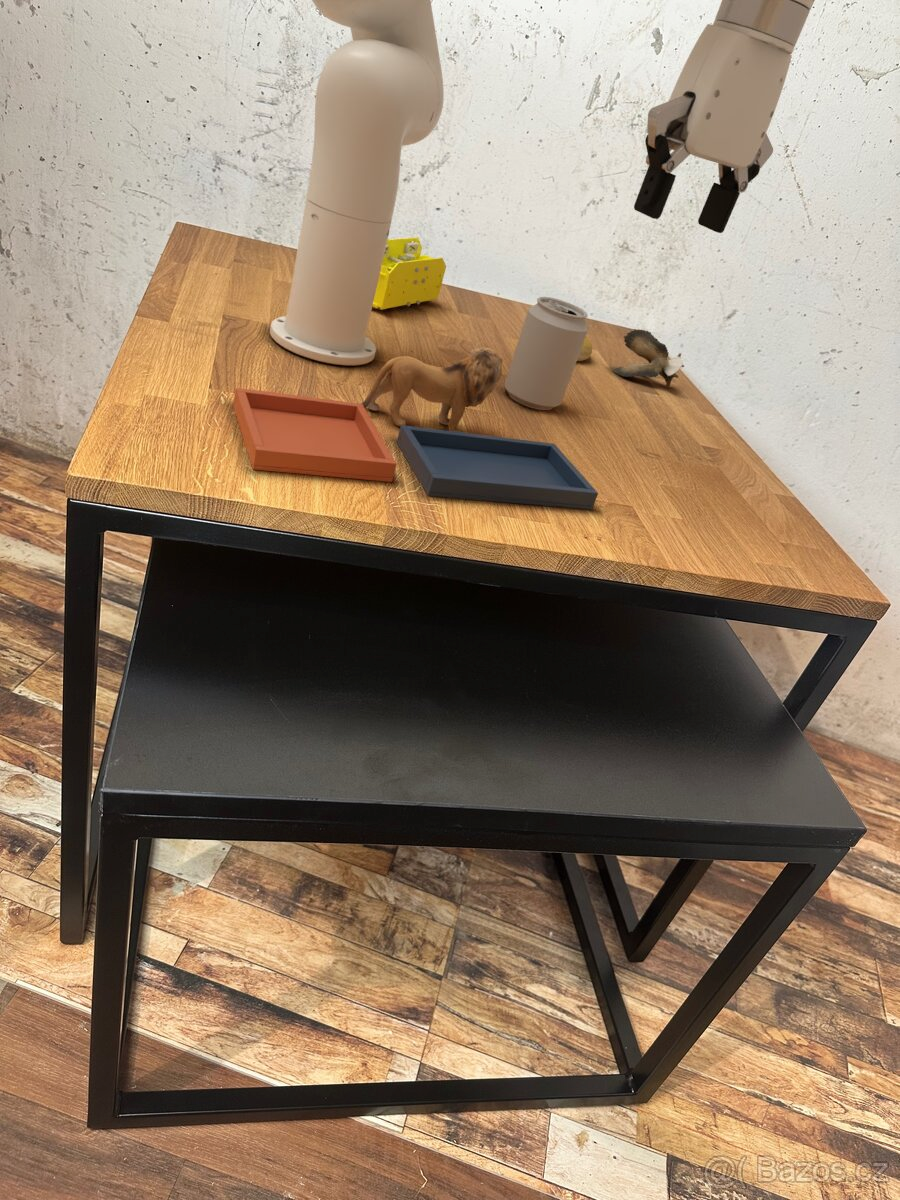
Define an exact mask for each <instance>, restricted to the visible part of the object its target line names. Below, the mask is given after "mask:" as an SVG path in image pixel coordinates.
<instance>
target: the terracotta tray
mask: <svg viewBox="0 0 900 1200" xmlns="http://www.w3.org/2000/svg"><path fill="white" fill-rule="evenodd" d="M232 407H233V410H234V415H235V417H236V421H237V423H238V426H239V429H240V432H241V436H242V439H243V442H244V445H245V448H246V449H245V450H246V452H247V455H248V459H249V462H250V464H251V467H252V470H255V471H267V472H277V473H289V474H300V475H310V476H321V477H332V478H343V479H355V480H364V481H375V482H387V483H392V482H393V480H394V476H395V471H396V468H397V462H396V459H395V458H394V457H393V455H392V453H391V452H390V450H389V448H388V446H387V444H386V443H385V441H384V440H383V437H382V435H381V434H380V432H379V430H378V429H377V426H375V423H374V421H373V420H372V418H371V416H370V414H369V412H368V411H367V409H366V408H364V406H363V404H361V403H358V402H350V401H342V400H335V399H328V398H327V399H326V398H318V397H311V396H303V395H295V394H290V393H289V394H288V393H281V392H274V391H265V390H256V389H249V388H242V387H235V389H234V397H233V403H232Z"/></svg>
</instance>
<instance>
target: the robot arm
mask: <svg viewBox="0 0 900 1200" xmlns="http://www.w3.org/2000/svg"><path fill="white" fill-rule="evenodd" d="M311 1H312V3H313V4H314V6H315V7H316V9H317V10H318V11H319V13H321V15H323V16H324V17H325V18H326V19H328V20H330V21H331V22H334V23H336V24H339V25H341V26H344V27H348V28H349V29H350V32H351V38H352V40H351V41H348V42H346V43H343V45H341V46H339V47H337V49H335V50H334V51H333V52H332V54H331V55H330V56H329V58H327V60H326V62H325V63H324V65H323V67H322V69H321V72H320V75H319V77H318V80H317V85H316V90H315V100H314V101H315V102H314V106H315V107H314V133H313V135H314V136H313V148H312V157H311V164H310V170H309V171H310V172H309V178H308V185H307V189H306V195H305V203H304V208H303V209H304V210H303V215H302V221H301V227H300V232H299V238H298V243H297V250H296V256H295V261H294V268H293V272H292V273H293V274H292V279H291V284H290V291H289V295H288V301H287V308H286V314H285V315H283V316H279V317H277V318H275V319H273V320H272V321H271V323H270V328H269V335H270V336H271V338H272V339H273V340H274V341H275V343H277V344H278V345H280V346H281V347H283V348H284V349H285V350H288V351H290V352H291V353H294V354H296V355H299V356H302V357H304V358H307V359H310V360H314V361H317V362H321V363H325V364H331V365H338V366H362V365H366V364H368V363H370V362H372V361H373V360H374V359H375V357H376V351H377V347H376V345H375V343H374V342H373V341H372V340H371V339H370V338H369V337H368V336H367V331H368V327H369V323H370V319H371V314H372V311H373V310H372V309H373V308H372V306H373V301H374V297H375V292H376V288H377V284H378V279H379V275H380V270H381V266H382V261H383V257H384V253H385V248H386V244H387V239H389V234H390V230H391V225H392V220H393V216H394V211H395V206H396V202H397V197H398V189H399V183H400V182H399V181H400V173H401V172H400V171H401V156H402V155H401V154H402V147H404V146H410V145H414V144H417V143H420V142H421V141H423V140H424V139H427V137H428V136H429V135H430V134H432V132H433V131H434V129H435V128H436V127H437V124H438V123H439V120H440V118H441V115H442V112H443V108H444V100H445V99H444V96H445V94H444V92H445V91H444V89H445V88H444V78H443V72H442V71H443V70H442V65H441V58H440V52H439V45H438V39H437V31H436V27H435V19H434V14H433V7H432V2H431V1H432V0H311ZM815 1H816V0H721V1H720V5H719V7H718V10H717V13H716V15H715V18H714V21H713V23H712V24H711V23H706V26H705V27H704V29H703V30H702V32H701V34H700V35H699V37H698V39H697V41H696V42H695V44H694V46H693V47H692V48H691V49H692V50H691V51H690V54H689V55H688V57H687V59H686V61H685V63H684V66H683V67H682V69H681V72H680V74H679V76H678V78H677V80H676V83H675V84H674V87H673V90H672V92H671V95H670V96H669V99H668V101H666V102H663V103H661V104H658V105H655V106H653V107H652V108H649V111H648V113H647V129H646V134H647V135H646V137H645V140H644V141H645V142H644V143H645V148H646V152H647V155H646V156H645V163H646V165H648V167H647V170H646V173H645V175H644V178H643V180H642V183H641V185H640V188H639V190H638V194H637V196H636V200H635V202H634V205H633V210H634V211H636V212H638V213H640V214H642V215H644V216H647V217H648V218H651V219H655V220H658V219H660V218H661V216H662V214H663V212H664V209H665V206H666V204H667V201H668V199H669V196H670V195H671V194H670V193H671V191H672V188H673V185H674V183H675V181H676V177H677V175H676V174H674V173H672V172H673V171H674V170H676V169H677V168H678V167H679V166H680V165H681V164H682V163H683V162H684V161H685V160H686V159H687V158H688V157H689V156H690V155H692V156H694V157H696V158H700V159H702V160H705V161H710V162H713V163H716V164H717V167H718V182H719V183H716V182H713V184H712V186H711V188H710V190H709V193H708V195H707V197H706V200H705V202H704V204H703V207H702V210H701V211H700V214H699V217H698V219H697V223H698V224H699V226H702V227H704V228H705V229H709V230H711V231H712V232H715V233H718V234H722V233H724V231H725V229H726V227H727V225H728V222H729V220H730V218H731V215H732V213H733V211H734V208H735V206H736V204H737V201H738V200H739V197H740V195H741V194H742V193H744V192H745V191H747V188H748V186H749V183H750V182H751V181H753V180H755V178H756V177H757V176H758V175H759V173H760V171H761V169H762V168H763V166H764V165H765V164H766V163H767V161H769V159H770V158H771V156H772V155H773V152H774V146H773V145H772V143H771V141H770V139H769V136H768V134H767V132H768V130H769V127H770V125H771V122H772V120H773V116H774V114H775V111H776V108H777V107H778V103H779V100H780V97H781V95H782V92H783V88H784V85H785V82H786V78H787V75H788V72H789V68H790V64H791V61H792V57H793V55H792V54H793V52H794V49H795V48H796V45H797V43H798V40H799V38H800V36H801V33H802V31H803V29H804V26H805V23H806V22H807V19H808V17H809V15H810V11H811V10H812V8H813V5H814V4H815V3H814V2H815ZM671 151H672V152H671Z"/></svg>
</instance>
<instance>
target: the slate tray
mask: <svg viewBox="0 0 900 1200" xmlns="http://www.w3.org/2000/svg"><path fill="white" fill-rule="evenodd" d="M396 444H397V446H398V448H399V449H400V451H401V452H402V454H403V456H404V458H405V459H406V461H407V462H408V465H409V466H410V468H411V469H412V471H413V473H414V474H415V476H416V478H417V479H418V481H419V482H420V484H421V486H422V488H423V489H424V491H425V492H426V495H427V496H428V497H438V498H449V499H450V498H451V499H461V500H463V499H464V500H473V501H486V502H497V503H508V504H519V505H520V504H521V505H532V506H542V507H543V506H544V507H554V508H566V509H579V510H589V511H592V510H593V507H594V505H595V502H596V500H597V499H598V498H597V497H598V495H599V492H598V491H597V490H596V489H595V487H594V486H593V485H592V484H591V483H590V482H589V481H588V480H587V479H586V477H585V476H584V475H583V474H582V473H581V472H580V470H579V469H577V467H576V466H575V465H574V463H572V461H571V460H569V458H568V457H567V456H566V455H565V454H564V452H563V451H561V450H560V448H559V447H558V445H556V443H553V442H544V441H536V440H529V439H528V440H527V439H521V438H519V439H518V438H511V437H503V436H495V435H486V434H479V433H469V432H461V431H460V432H454V431H449V430H446V429H438V428H437V429H436V428H428V427H420V426H412V425H406V426H404V425H401V427H399V430H398V435H397V439H396Z"/></svg>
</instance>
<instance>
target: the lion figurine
mask: <svg viewBox="0 0 900 1200" xmlns="http://www.w3.org/2000/svg"><path fill="white" fill-rule="evenodd" d="M503 361H504V357H502V356H500V353H498V352H497V351H495V350H494V349H492V348H490V347H486V346H483V347H481V348H480V347H479V348H476V349H472V350H471V351H470V355H469V356H466V357H465V358H462V359H460V360H459V361H457V362H455V363H453V364H452V363H451V365H449V366H445V367H441V366H435V365H431V364H428V363H425V362H423V361H421V360H420V359H417V358H416V357H413V356H409V355H401V356H396V357H393V358H391V359H389V360H388V361H387V362H386V363H385V364H384V365H383V366H382V367H381V368H380V370H379V372H378V373H377V376H376V377H375V379H374V381H373V383H372V385H371V387H370V390H369V392H368V394H367V396H366V398H365V399H364V401H362V402H361V403H360V404H363V406H364V408H365V409H366V408H368V409H369V410H371V411H375V412H376V411H379V410H380V405H379V404H378V403H377V402H376V400H377V399H378V398H379V397H380V396H382V395H385V394H387V393H389V392H392V401H391V403H390V405H389V408H388V409H389V411H390V415H391V418H392V420H393V423H394V425H395V426H397V427H399V428H400V427H401V425H404V426H407V421H406V419H405V418H402V417H401V415H400V409H401V407H402V405H403V404H404V403H405V401H406V400H407V399H408V397H409V396H410V394H411V391H413V392H414V393H415V394H416V395H417V396H418V397H419V398H421V399H423V400H425V401H427V402H431V403H435V404H441V408H440V411H439V414H438V419H437V420H438V422H439V424H441V425H445V426H447V427H448V431H454V432H461V430H460V429H458V425H459V423H460V422H461V420H462V418H463V415H464V413H465V410H466V408H470V407H473V408H474V407H477V406H478V405H481V404H482V403H483V402H484V401H485V400H486V398H487V397H488V396H489V395H490V394H491V393H492V392H493V391H494V390H495V387H496V385H497V383H499V381H500V379H501V377H502V375H503V368H502V365H503ZM450 411H451V413H450ZM449 414H450V418H449Z"/></svg>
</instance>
